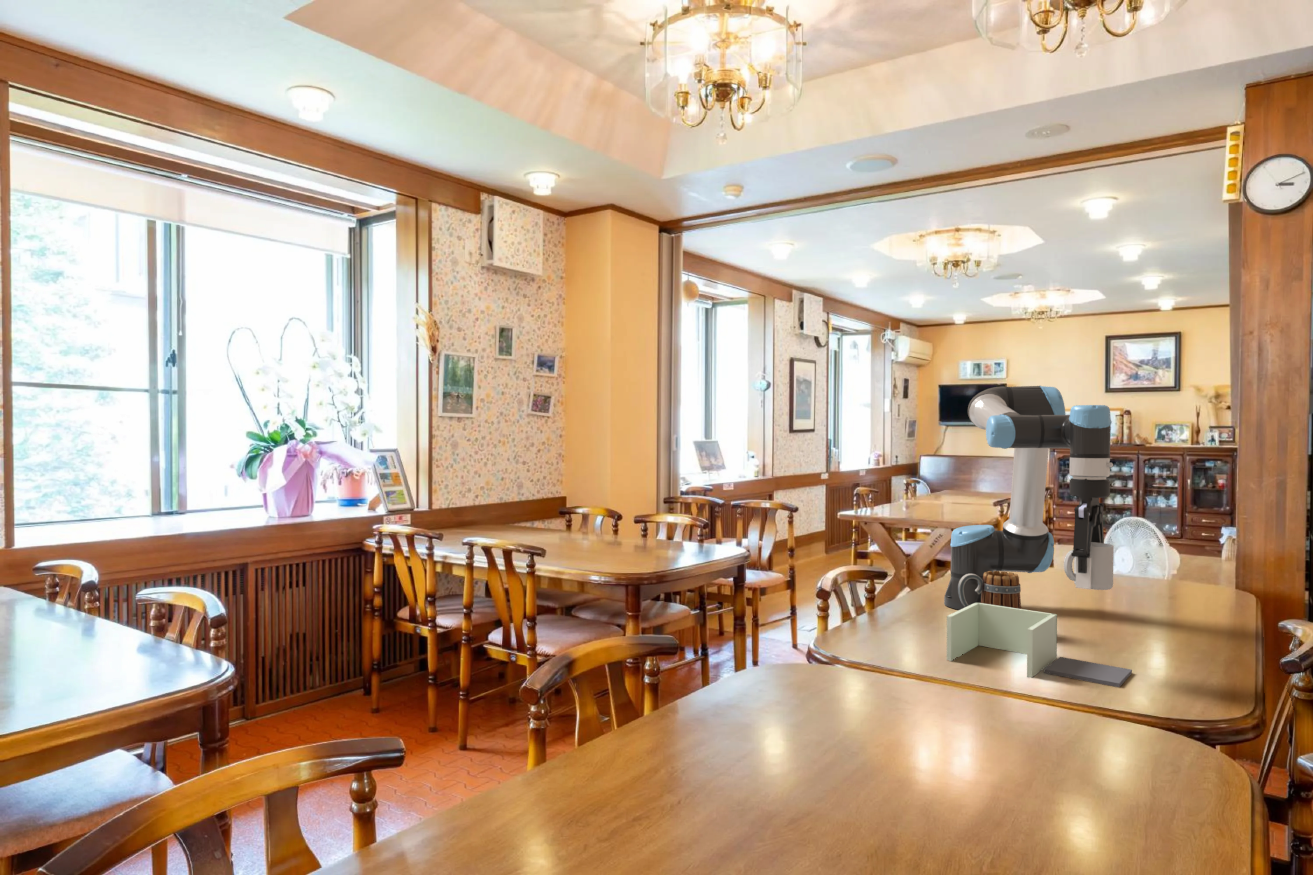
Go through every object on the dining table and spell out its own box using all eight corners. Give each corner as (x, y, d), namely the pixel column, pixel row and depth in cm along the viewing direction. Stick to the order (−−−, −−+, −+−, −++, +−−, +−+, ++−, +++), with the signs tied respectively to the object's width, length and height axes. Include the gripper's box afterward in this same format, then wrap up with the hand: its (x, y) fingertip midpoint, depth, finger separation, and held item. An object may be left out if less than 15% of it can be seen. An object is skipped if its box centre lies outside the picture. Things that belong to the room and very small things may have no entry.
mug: (1014, 627, 205) (1015, 570, 205) (1029, 638, 195) (1030, 578, 195) (952, 626, 207) (953, 569, 207) (964, 637, 196) (964, 577, 196)
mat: (1044, 672, 168) (1044, 669, 168) (1060, 660, 177) (1060, 656, 177) (1119, 687, 159) (1119, 683, 159) (1131, 673, 168) (1131, 669, 168)
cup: (1120, 589, 164) (1121, 547, 164) (1074, 590, 163) (1074, 547, 163) (1099, 582, 171) (1099, 541, 171) (1054, 583, 171) (1055, 542, 170)
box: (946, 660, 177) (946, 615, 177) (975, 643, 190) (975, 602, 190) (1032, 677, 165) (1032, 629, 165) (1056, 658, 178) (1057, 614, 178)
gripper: (1097, 481, 157) (1096, 595, 157) (1120, 476, 172) (1119, 580, 173) (1056, 479, 162) (1055, 590, 162) (1082, 474, 177) (1081, 575, 178)
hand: (1088, 584), depth 168 cm, fingers closed on cup, 8 cm apart
